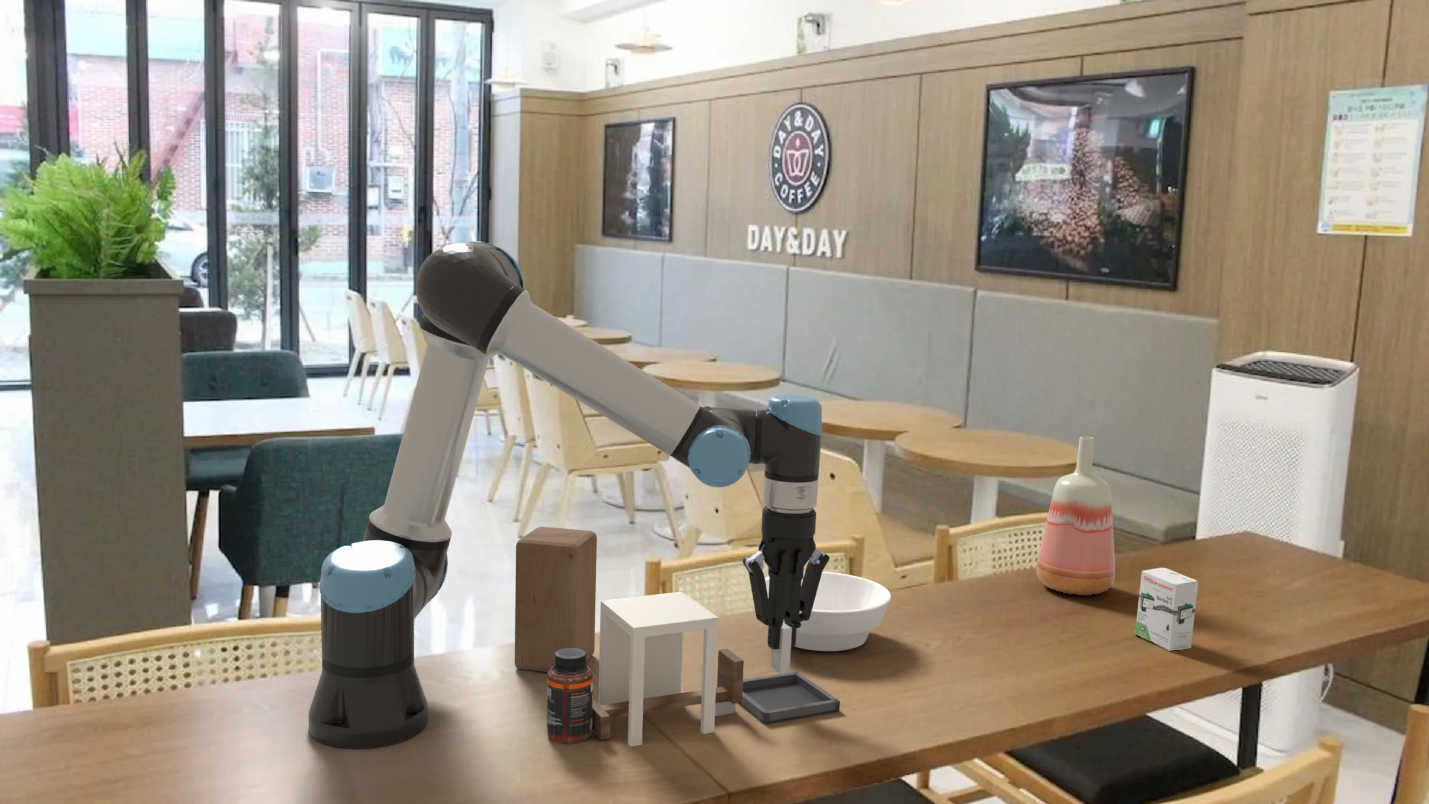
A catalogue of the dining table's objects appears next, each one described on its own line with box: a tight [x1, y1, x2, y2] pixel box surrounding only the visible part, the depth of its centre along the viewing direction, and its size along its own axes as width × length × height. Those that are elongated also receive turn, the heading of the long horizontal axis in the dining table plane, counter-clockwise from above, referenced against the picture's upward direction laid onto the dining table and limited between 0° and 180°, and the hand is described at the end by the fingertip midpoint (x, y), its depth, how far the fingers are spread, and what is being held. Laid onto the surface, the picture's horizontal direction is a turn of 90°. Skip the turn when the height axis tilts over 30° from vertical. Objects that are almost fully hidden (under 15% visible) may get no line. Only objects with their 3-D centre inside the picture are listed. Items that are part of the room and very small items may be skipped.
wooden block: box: [514, 526, 598, 673], centre depth 181 cm, size 10×10×20 cm
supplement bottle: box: [546, 648, 594, 744], centre depth 156 cm, size 6×6×11 cm
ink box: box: [1134, 567, 1199, 651], centre depth 201 cm, size 9×5×12 cm, turn 23°
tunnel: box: [597, 591, 736, 748], centre depth 162 cm, size 18×12×16 cm
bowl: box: [765, 570, 892, 652], centre depth 197 cm, size 22×22×8 cm
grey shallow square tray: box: [738, 671, 841, 725], centre depth 170 cm, size 12×12×2 cm
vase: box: [1035, 435, 1116, 596], centre depth 228 cm, size 14×14×30 cm
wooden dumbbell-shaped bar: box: [592, 648, 745, 740], centre depth 162 cm, size 21×7×8 cm, turn 116°
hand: (780, 669), depth 170 cm, fingers closed
